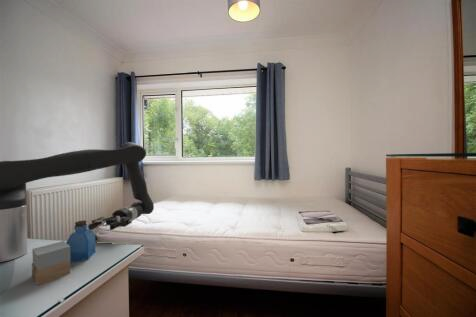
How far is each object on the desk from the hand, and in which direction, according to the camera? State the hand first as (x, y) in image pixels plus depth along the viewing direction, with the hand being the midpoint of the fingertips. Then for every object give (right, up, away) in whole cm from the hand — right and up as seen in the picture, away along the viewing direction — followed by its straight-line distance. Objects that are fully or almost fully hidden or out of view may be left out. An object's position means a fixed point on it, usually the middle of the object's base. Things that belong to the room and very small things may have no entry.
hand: (100, 227), depth 79 cm
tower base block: (-1, -7, -20) cm, 21 cm away
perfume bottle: (0, -7, -9) cm, 12 cm away
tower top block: (-1, -3, -20) cm, 20 cm away
